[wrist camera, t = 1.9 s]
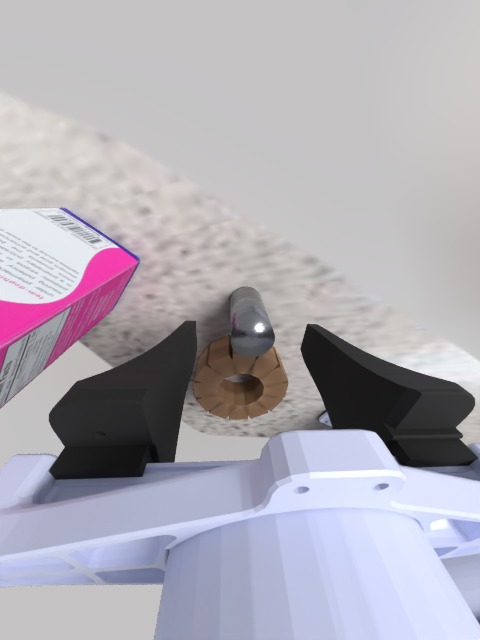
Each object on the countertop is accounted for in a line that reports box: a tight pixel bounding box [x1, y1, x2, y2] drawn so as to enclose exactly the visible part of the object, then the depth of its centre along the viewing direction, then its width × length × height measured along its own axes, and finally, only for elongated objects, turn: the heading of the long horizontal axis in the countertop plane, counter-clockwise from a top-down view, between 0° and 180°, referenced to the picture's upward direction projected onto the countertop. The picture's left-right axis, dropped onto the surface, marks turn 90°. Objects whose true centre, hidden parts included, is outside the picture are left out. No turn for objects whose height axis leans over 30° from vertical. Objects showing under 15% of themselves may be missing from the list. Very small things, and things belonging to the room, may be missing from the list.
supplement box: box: [0, 207, 140, 408], centre depth 10 cm, size 6×6×12 cm
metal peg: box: [230, 287, 275, 357], centre depth 15 cm, size 3×3×6 cm
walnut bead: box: [193, 335, 288, 419], centre depth 20 cm, size 9×9×3 cm
